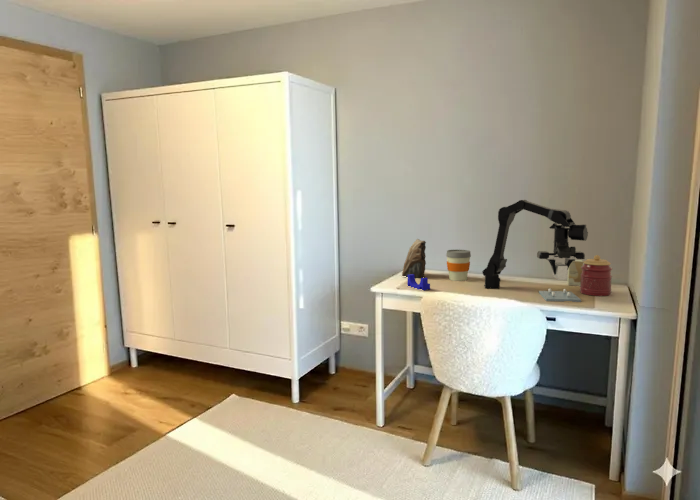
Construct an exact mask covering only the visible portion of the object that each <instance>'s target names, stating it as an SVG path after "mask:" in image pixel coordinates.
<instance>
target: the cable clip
mask: <svg viewBox="0 0 700 500" xmlns="http://www.w3.org/2000/svg"><path fill="white" fill-rule="evenodd" d="M428 280H429V279H428V277H425V278H421V279H420V282H419V283H418V282H417V281H416V278H415V277H414V274H410V275H408V278H407V283H406V284H407V285H408V286H411V287H410V288H412V287H414V288H413V289H415V288H417V289H416V290H419V289H422V290H424V291H428V290H427V289H430V290H431V283H428V282H429V281H428ZM408 286H407V287H408ZM422 290H421V291H422Z"/></svg>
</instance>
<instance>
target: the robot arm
mask: <svg viewBox="0 0 700 500" xmlns="http://www.w3.org/2000/svg"><path fill="white" fill-rule="evenodd" d="M523 210H524V211H527V212H530V213H533V214H536V215H540V216H542V217H545V218H547V219H548V220H549V221H551V222H553V223H552V224H551V226H549V229H551V230H554V231H553V233H554V234H553V250H552V252H549V251H547V250H538V251H537V252H536V257H537V258H538V259H539V260H540V259H541V260H547V261H548V262H549V264H550V266H551V270H552V274H553V273H554V275H555V272H556V270H555V263H556V259H555V258H559V259H564V264H565V265H567V266H568V268H569V266H570V264H571V263H572V262H573V261H575V260H585V258H586V257H585V256H586V255H585V253H584V252H583V251H581V250H578V251H577V250H576V249H577V248H576V246H570V245H569V239H570V240H571V241H582V242H583V241H584V242H585V241H587V240H588V237H589V231H588V227H587V224H576V222H575V221H574V220H573V218H572V216H571V213H570V212H569V211H568V210H567V209H566V210H565V209H559V208H550V207H547V206H543V205H541V204H538V203H535V202H531V201H528V200H527V199H520V200H518V201H516V202H514V203H513V204H510V205H508V206H503V207H500V208H499V209H498V212H497V213H498V214H497V221H498V229H497V235H496V240H495V245H494V249H493V253H492V255H491V257H490V259H488V263H487V265H486V266H487V267H485V268H484V269H483V270H482V275H483V276H484V284H483V286H484V289H500V287H501V278H500V275H501V272H502V271H503V270H504V269H505V268H506V267H507V266H506V265H507V261H508V259H507V258H505V255H504V254H505V249H506V245H507V239H508V235H509V230H510V226H511V225H512V223H513V222H514V219H515V217H516V215H517V214H518V213H520V212H522V211H523ZM575 258H576V259H575ZM567 271H568V269H567Z"/></svg>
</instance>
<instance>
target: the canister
mask: <svg viewBox="0 0 700 500" xmlns="http://www.w3.org/2000/svg"><path fill="white" fill-rule="evenodd" d="M611 264H612V263H611V262H610V261H608V260H607V259H603V258H601V256H600V255H599V254H596V255H594V256H593V258H588V259H586V260H583V266H581V268H582V273H581V274H580V275H581V282H580V286H579V292H580V293H581V294H583V295H587V296H592V297H593V296H594V297H608V296H610V295H611V293H612V278H613V275H612V271H613V267H612V266H611Z"/></svg>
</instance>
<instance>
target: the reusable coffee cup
mask: <svg viewBox="0 0 700 500" xmlns="http://www.w3.org/2000/svg"><path fill="white" fill-rule="evenodd" d="M445 256H446V267H447V269H446V270H447V272H448V278H449V280H450V281H455V282H463V281H467V280H468V273H469V271H470V267H471V266H470V265H471V261H470V260H471V256H472V255H471V251H470V250H467V249H448V250H446V254H445Z"/></svg>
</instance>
